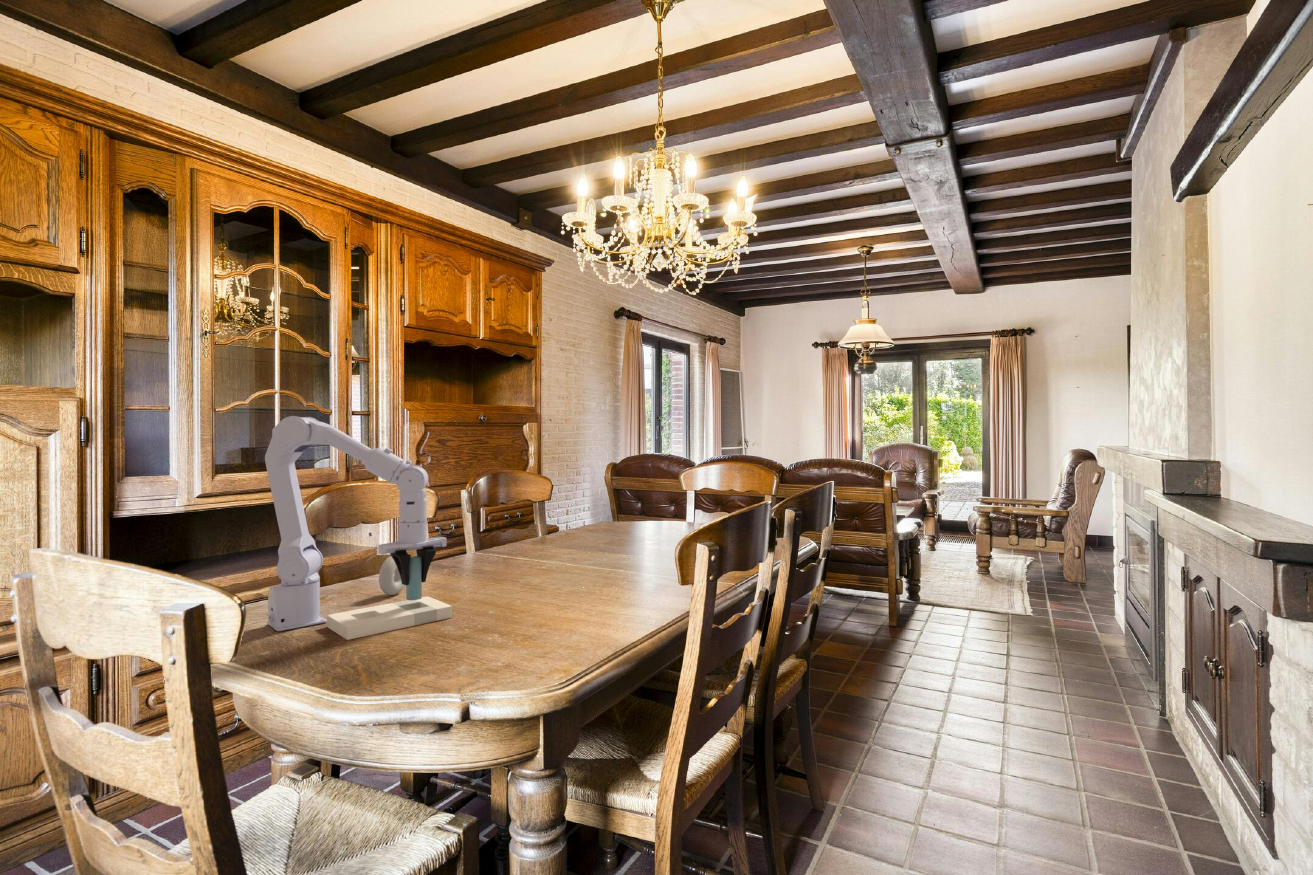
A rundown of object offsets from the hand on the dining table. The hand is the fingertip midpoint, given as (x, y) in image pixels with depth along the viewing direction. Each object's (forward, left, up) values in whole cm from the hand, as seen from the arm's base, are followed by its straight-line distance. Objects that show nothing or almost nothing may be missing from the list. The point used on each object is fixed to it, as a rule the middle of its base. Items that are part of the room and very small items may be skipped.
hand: (413, 582), depth 143 cm
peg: (0, 0, -3) cm, 3 cm away
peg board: (-5, 0, -8) cm, 9 cm away
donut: (+5, +23, -8) cm, 25 cm away
